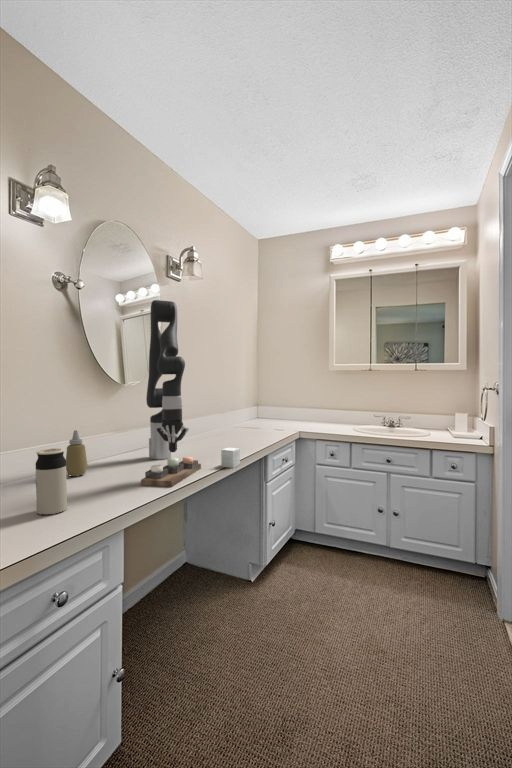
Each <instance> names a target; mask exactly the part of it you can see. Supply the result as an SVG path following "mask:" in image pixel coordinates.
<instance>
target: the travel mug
mask: <svg viewBox="0 0 512 768" xmlns="http://www.w3.org/2000/svg"><path fill="white" fill-rule="evenodd" d="M65 451H66V450H65V448H62V447H55V448H52V447H51V448H44V449H40V450H37V451H36V452H35V453H36V455H37V459H36V461H35V492H36V494H35V495H36V497H35V498H36V513H37V514H38V513H39V514H38V515H41V514H53V515H56V514H55V513H58V514H60V513H59V512H61V513H63V512H65V511H66V510H67V509H68V488H67V487H68V485H67V484H68V483H67V482H68V481H67V470H66V457H65V456H64V453H65ZM62 511H63V512H62Z"/></svg>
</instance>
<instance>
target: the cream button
mask: <svg viewBox="0 0 512 768" xmlns="http://www.w3.org/2000/svg"><path fill="white" fill-rule="evenodd" d="M163 467H164V465H162V464H154V465H150V470H151V472H158V473H160V472H162V471H163Z"/></svg>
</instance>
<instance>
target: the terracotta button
mask: <svg viewBox="0 0 512 768" xmlns="http://www.w3.org/2000/svg"><path fill="white" fill-rule="evenodd" d="M193 460H194V457H193V456H184V457H182V461H183V463H193Z"/></svg>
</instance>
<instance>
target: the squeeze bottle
mask: <svg viewBox="0 0 512 768" xmlns="http://www.w3.org/2000/svg"><path fill="white" fill-rule="evenodd" d="M78 432H79V431H78V430H76V429H75V430H73V435H72V438H71V439H69V441H68V442H69V443H68V444H69V445H67V447H66V452H65V453H66V455H65V459H66V474H67V475H68V476H69V475H71V476H77V475H82V476H84V475H85V474H86V473H87V472H86V471H87V468H88V461H87V452H86V451H87V450H86V445H85V444H83V439H82V438H80V436H79V433H78ZM83 474H84V475H83Z"/></svg>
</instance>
